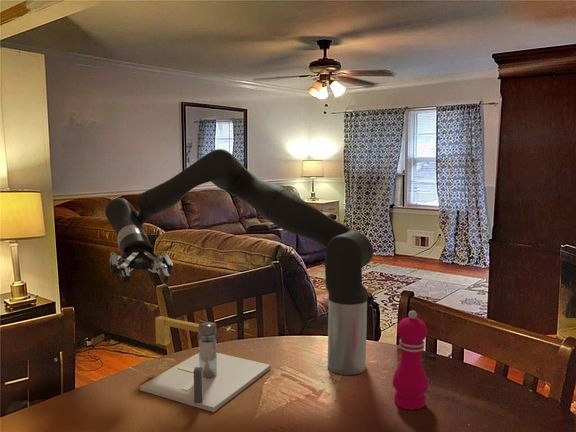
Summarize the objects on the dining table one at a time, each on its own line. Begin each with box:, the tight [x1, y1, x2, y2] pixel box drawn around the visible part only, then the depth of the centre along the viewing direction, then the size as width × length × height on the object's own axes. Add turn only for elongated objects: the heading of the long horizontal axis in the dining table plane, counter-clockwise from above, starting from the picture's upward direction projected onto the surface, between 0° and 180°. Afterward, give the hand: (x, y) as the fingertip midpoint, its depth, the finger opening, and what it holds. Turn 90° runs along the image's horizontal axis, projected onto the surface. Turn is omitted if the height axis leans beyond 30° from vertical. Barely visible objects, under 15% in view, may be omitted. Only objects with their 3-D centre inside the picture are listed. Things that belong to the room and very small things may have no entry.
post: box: [198, 338, 218, 379], centre depth 114 cm, size 4×4×8 cm
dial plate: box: [139, 352, 272, 413], centre depth 114 cm, size 23×20×8 cm
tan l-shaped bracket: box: [154, 315, 217, 346], centre depth 116 cm, size 17×4×7 cm, turn 62°
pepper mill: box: [392, 310, 429, 411], centre depth 102 cm, size 7×7×20 cm
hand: (147, 280), depth 113 cm, fingers open, 8 cm apart
